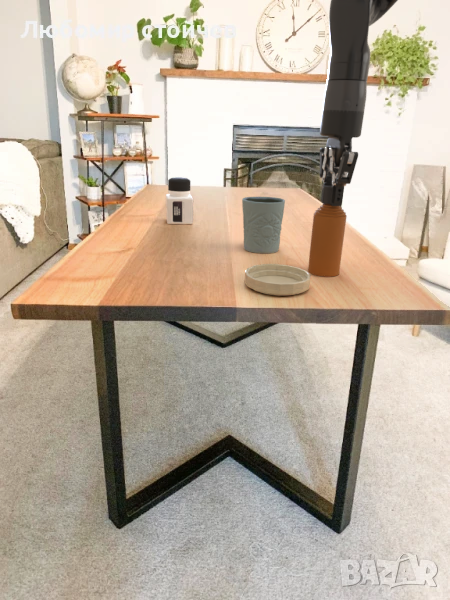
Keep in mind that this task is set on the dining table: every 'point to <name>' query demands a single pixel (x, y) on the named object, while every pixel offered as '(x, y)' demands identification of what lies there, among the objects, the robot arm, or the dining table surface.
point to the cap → (326, 194)
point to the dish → (277, 279)
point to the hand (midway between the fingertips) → (331, 203)
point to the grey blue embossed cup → (262, 223)
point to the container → (179, 202)
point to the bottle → (327, 240)
